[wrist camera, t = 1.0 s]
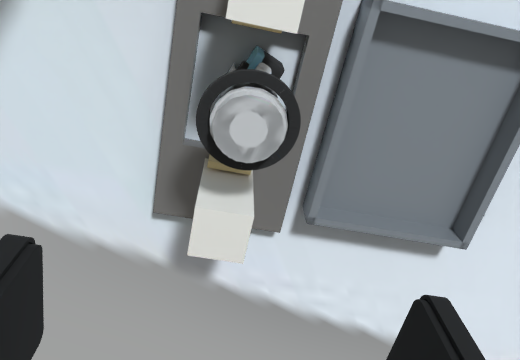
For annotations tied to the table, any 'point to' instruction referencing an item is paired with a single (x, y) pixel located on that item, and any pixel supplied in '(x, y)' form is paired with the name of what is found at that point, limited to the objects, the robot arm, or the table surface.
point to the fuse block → (208, 168)
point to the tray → (418, 126)
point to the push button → (249, 115)
